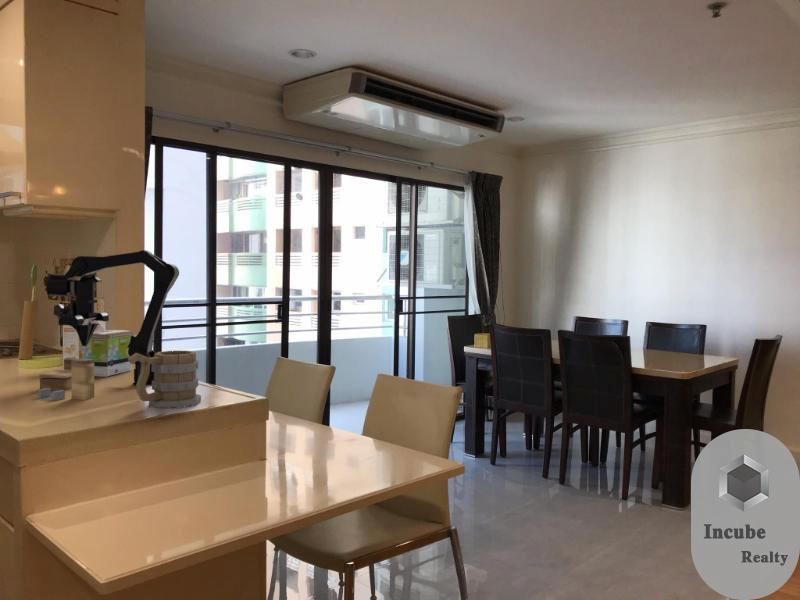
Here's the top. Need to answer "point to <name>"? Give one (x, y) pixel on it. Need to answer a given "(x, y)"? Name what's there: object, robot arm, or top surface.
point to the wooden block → (82, 378)
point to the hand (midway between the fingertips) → (84, 346)
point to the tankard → (169, 378)
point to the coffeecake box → (75, 341)
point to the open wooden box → (56, 383)
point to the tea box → (108, 352)
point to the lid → (60, 371)
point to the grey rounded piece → (46, 395)
